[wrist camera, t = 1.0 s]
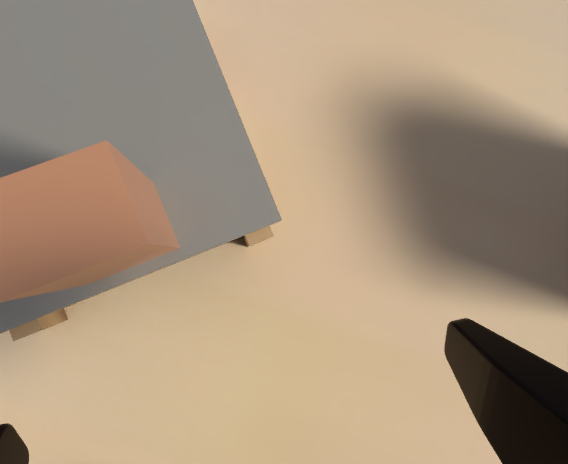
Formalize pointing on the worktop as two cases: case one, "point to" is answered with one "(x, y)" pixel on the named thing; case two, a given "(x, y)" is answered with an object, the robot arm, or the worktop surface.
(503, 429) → the robot arm
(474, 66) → the worktop surface
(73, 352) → the worktop surface
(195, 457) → the worktop surface
